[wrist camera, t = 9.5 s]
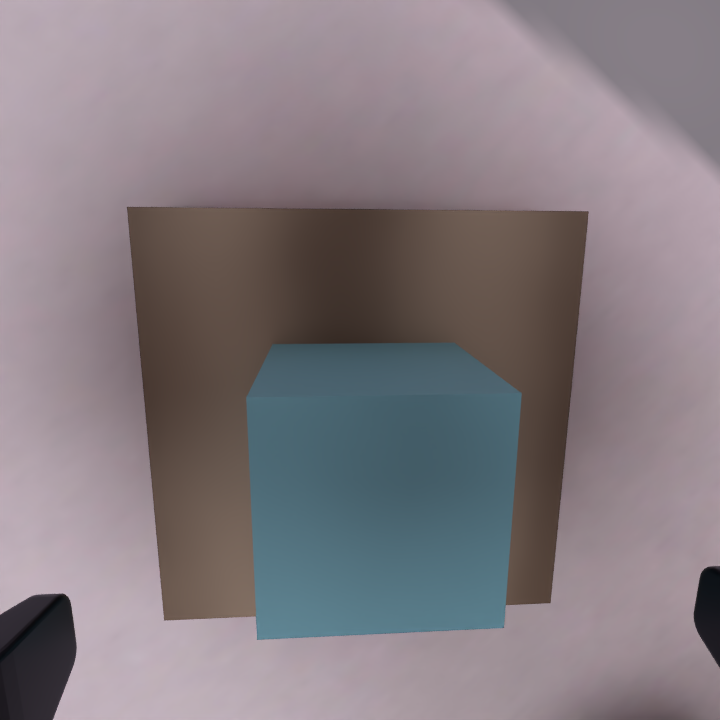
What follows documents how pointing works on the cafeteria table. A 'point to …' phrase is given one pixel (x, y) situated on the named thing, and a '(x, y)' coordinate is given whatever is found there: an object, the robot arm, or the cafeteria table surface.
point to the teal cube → (380, 489)
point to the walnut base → (339, 326)
